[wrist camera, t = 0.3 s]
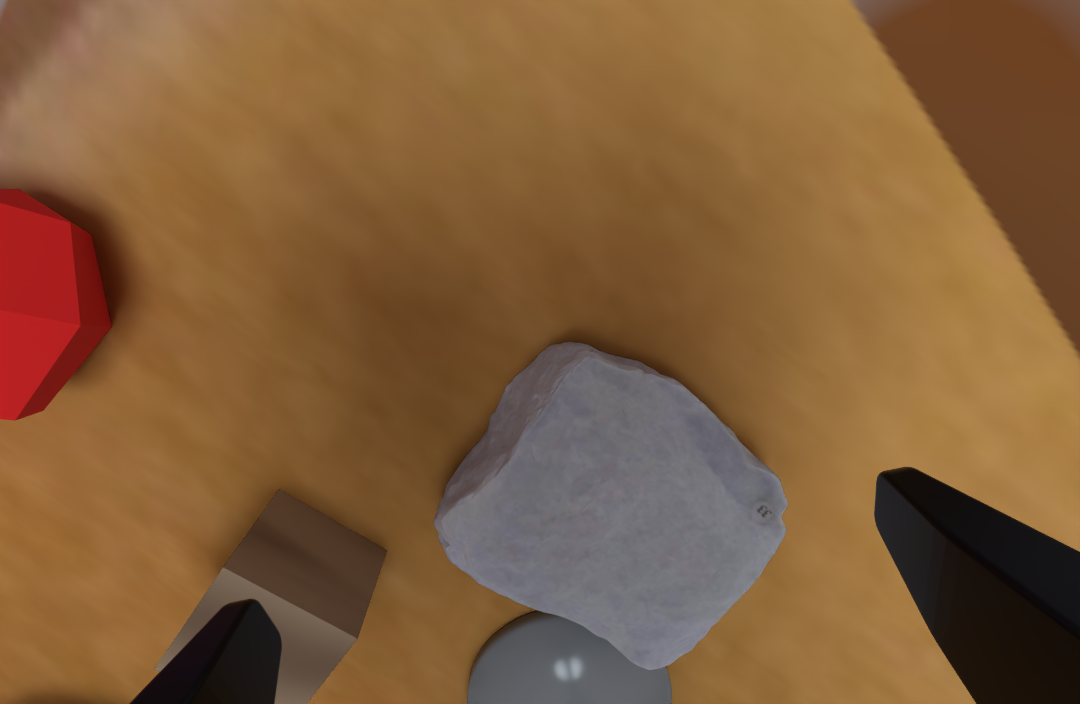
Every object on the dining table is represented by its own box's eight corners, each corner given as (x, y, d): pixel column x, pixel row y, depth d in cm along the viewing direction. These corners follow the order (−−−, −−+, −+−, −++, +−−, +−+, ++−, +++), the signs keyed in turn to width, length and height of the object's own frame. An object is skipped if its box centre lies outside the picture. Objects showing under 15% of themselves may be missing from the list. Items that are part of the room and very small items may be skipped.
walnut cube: (326, 630, 27) (284, 732, 22) (220, 574, 26) (154, 669, 21) (387, 549, 26) (357, 638, 21) (280, 488, 25) (223, 567, 20)
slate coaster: (587, 789, 30) (589, 806, 30) (430, 708, 28) (427, 723, 28) (708, 667, 28) (713, 681, 27) (546, 571, 26) (547, 583, 26)
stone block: (549, 302, 25) (417, 512, 25) (576, 314, 20) (414, 572, 21) (772, 445, 28) (650, 633, 28) (842, 485, 23) (693, 709, 23)
